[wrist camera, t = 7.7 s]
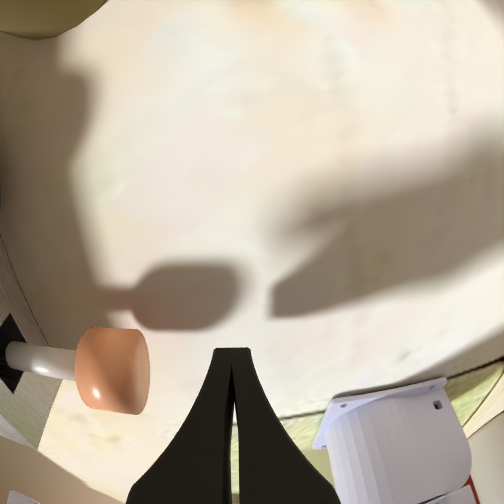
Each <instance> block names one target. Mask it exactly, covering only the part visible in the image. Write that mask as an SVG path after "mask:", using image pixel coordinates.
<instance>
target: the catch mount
mask: <svg viewBox="0 0 504 504" xmlns="http://www.w3.org/2000/svg"><path fill="white" fill-rule="evenodd" d="M11 341H16V342H22V343H28V344H34V345H40V346H47V347H49V345H48V343H47V341H46V339H45V338H44V336H43V334H42V332H41V330H40V328H39V326H38V324H37V322H36V320H35V318H34V316H33V314H32V312H31V310H30V308H29V306H28V304H27V302H26V300H25V297H24V295H23V293H22V291H21V288H20V286H19V284H18V281H17V279H16V277H15V274H14V272H13V269H12V267H11V264H10V261H9V259H8V256H7V253H6V250H5V248H4V245H3V242H2V239H1V236H0V435H1V436H3V437H6V438H8V439H11V440H13V441H16V442H18V443H21V444H23V445H26V446H29V447H31V448H34V449H38V446H39V443H40V440H41V436H42V433H43V430H44V428H45V425H46V422H47V419H48V416H49V413H50V411H51V408H52V405H53V402H54V400H55V397H56V395H57V392H58V390H59V387H60V384H61V382H62V380H63V379H60V378H54V377H49V376H44V375H39V374H35V373H30V372H26V371H21V370H17V369H13V368H11V367H10V366H9V365H8V363H7V361H6V348H7V346H8V344H9V343H10V342H11Z"/></svg>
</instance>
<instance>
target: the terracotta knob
mask: <svg viewBox="0 0 504 504" xmlns="http://www.w3.org/2000/svg"><path fill="white" fill-rule="evenodd" d="M6 361H7V363H8V365H9V366H10V367H11V368H13V369H17V370H21V371H26V372H30V373H35V374H39V375H44V376H49V377H54V378H60V379H65V380H71V381H76V384H77V388H78V391H79V394H80V396H81V398H82V400H83V402H84V403H85V404H86V405H87V406H88V407H90V408H92V409H98V410H104V411H111V412H118V413H126V414H134V415H138V414H140V413H141V412H142V411H143V409H144V407H145V405H146V402H147V398H148V393H149V384H150V362H149V354H148V348H147V344H146V341H145V338H144V336H143V334H142V333H141V332H140V331H139V330H137V329H119V328H102V327H91V328H89V329H87V330H86V331H85V332H84V334H83V335H82V337H81V339H80V341H79V344H78V347H77V350H69V349H61V348H54V347H47V346H40V345H34V344H28V343H22V342H16V341H11V342H10V343H9V344H8V346H7V348H6Z"/></svg>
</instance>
